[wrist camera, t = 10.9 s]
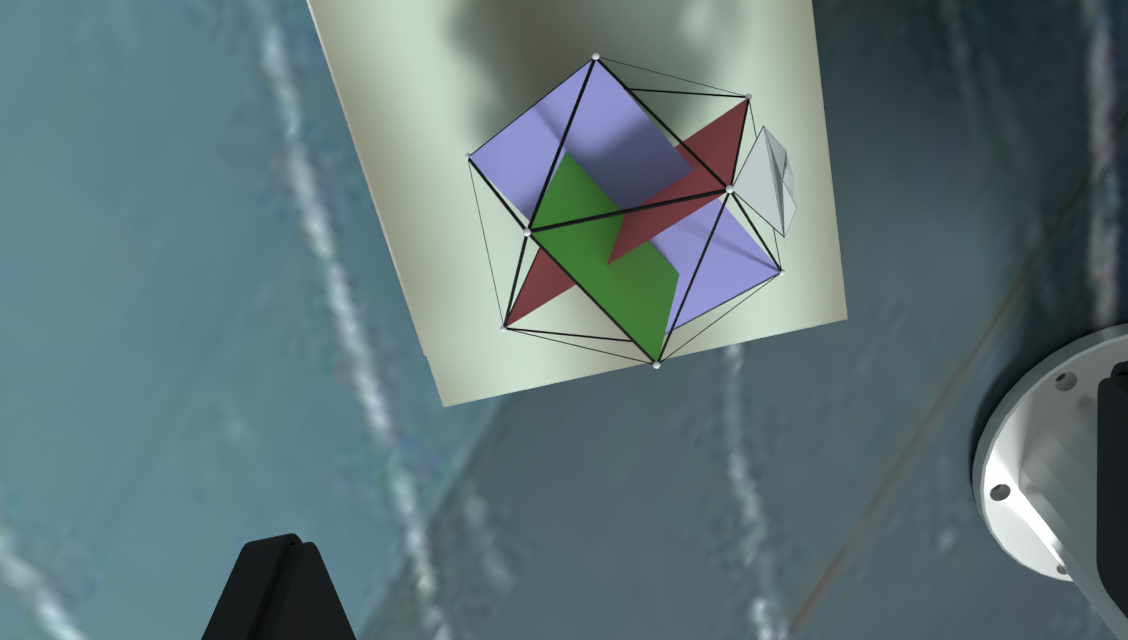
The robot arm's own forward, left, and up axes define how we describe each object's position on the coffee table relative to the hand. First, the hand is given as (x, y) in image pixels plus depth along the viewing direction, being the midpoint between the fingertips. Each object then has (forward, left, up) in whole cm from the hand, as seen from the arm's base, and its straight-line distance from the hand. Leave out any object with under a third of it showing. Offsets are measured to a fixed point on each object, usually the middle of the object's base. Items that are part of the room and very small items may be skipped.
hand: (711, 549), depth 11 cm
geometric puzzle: (0, 0, -16) cm, 16 cm away
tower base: (0, 0, -25) cm, 25 cm away
